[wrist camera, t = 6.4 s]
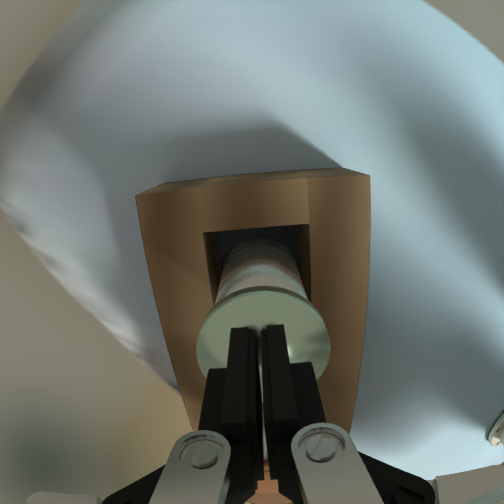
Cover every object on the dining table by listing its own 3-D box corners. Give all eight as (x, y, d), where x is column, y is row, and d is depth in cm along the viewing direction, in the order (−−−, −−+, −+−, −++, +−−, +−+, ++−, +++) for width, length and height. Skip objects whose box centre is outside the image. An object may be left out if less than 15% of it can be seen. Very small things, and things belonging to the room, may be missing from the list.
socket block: (343, 167, 20) (369, 175, 15) (329, 455, 29) (336, 490, 25) (161, 183, 20) (135, 195, 15) (222, 463, 30) (219, 498, 25)
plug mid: (303, 377, 20) (320, 466, 13) (303, 420, 21) (315, 501, 14) (234, 382, 20) (227, 472, 13) (241, 424, 21) (238, 506, 14)
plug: (300, 229, 17) (332, 290, 10) (303, 307, 18) (327, 396, 11) (212, 236, 17) (184, 302, 10) (223, 313, 18) (208, 404, 11)
